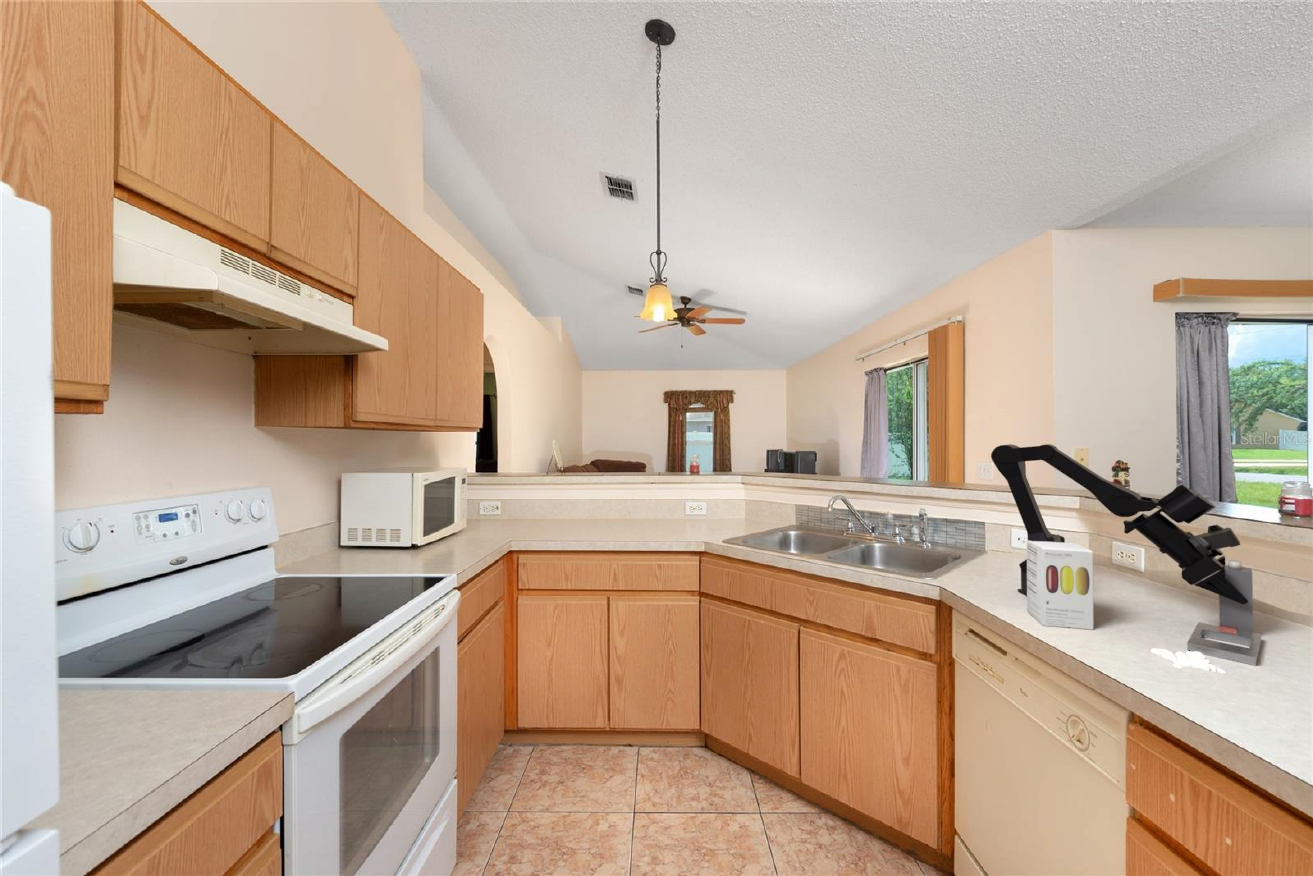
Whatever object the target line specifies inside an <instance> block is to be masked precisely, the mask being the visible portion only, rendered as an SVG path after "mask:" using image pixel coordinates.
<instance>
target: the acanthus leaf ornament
mask: <svg viewBox="0 0 1313 876" xmlns="http://www.w3.org/2000/svg"><path fill="white" fill-rule="evenodd" d="M1151 652H1152V653H1151ZM1150 653H1151V654H1154V653H1155V655H1157V656H1159V655H1161V656H1160V657H1161V658H1163V659H1165V660H1168V659H1169V660H1168V661H1170V660H1171V662H1172V661H1173V662H1174V663H1173V662H1172V663H1173V664H1172V665H1173V666H1174V668H1176V667H1177V668H1176V669H1180V668H1191V667H1192V669H1197V668H1201V669H1204V670H1203V671H1205V670H1207V671H1206V672H1213V671H1214V673H1219V672H1220V674H1223V673H1227V672H1226V671H1225V670H1223V669H1222V668H1220V667H1218V666H1216V665H1214V664H1212V663H1211V661H1210V660H1209V659H1207V655H1205V654H1202V653H1201V652H1198V651H1193V652H1192V651H1185V652H1182V651H1177V652H1175V653H1173V652H1172V651H1170V650H1168V649H1165V648H1151V649H1150ZM1173 666H1172V667H1173ZM1201 669H1200V670H1201Z"/></svg>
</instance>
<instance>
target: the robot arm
mask: <svg viewBox="0 0 1313 876" xmlns="http://www.w3.org/2000/svg"><path fill="white" fill-rule="evenodd" d="M990 458H991V460H992V462H993V464H994V465H995V467H996V469H997V470H998V472H1000V474H1001V476H1003V478H1004V479H1005V480H1006V482H1007V484H1008V487H1009V490H1010V492H1011V494H1012V497H1013V500H1014V503H1015V505H1016V507H1017V509H1018V512H1019V515H1020V517H1021V520H1022V523H1023V525H1024V529H1025V530H1026V533H1027V541H1043V542H1061V539H1060V536H1061V535H1060V534H1056V535H1055V536H1053V535H1052V534H1053V533H1051V532H1050V530H1049V529H1048V528H1047V526H1046V525H1047V524H1046V522H1045V519H1044V518H1043V516H1042V513H1041V510H1040V508H1039V506H1038V503H1037V501H1036V500H1037V499H1036V497H1035V496H1034V494H1033V490H1032V489H1031V486H1030V483H1029V480H1028V477H1027V474H1026V473H1027V470H1026V469H1027V468H1026V467H1027V466H1026V462H1033V461H1044V462H1045V463H1047V464H1048V465H1049V466H1051V467H1053V468H1054V469H1055V470H1057V471H1059V472H1060V473H1061V474H1063V475H1065V476H1066V477H1068V478H1069V479H1071V480H1073V481H1074V482H1075V483H1077V484H1078V485H1080V486H1081V487H1083V488H1084V489H1086V490H1088V491H1089V492H1090V493H1091V494H1092V495H1093V496H1094V497H1095V498H1096V499H1097V501H1098V502H1099V503H1101V505H1102V506H1104V507H1105V508H1106V509H1107V510H1108V511H1109V512H1110V513H1111V514H1113V515H1115V516H1116V517H1120V518H1129V517H1134V516H1136V515H1138V513H1141V514H1139V515H1138V516H1136V517H1135V518H1134V519H1132V520H1126V519H1125V520H1124V521H1123V522H1122V523H1123V526H1124V532H1123V533H1124V534H1126V535H1127V534H1130V533H1131V532H1132V531H1134V530H1136V531H1137V532H1139V534H1140V535H1142V536H1144V537H1145V538H1146V540H1148V541H1150V542H1151V543H1152V544H1153V545H1155V546H1156V547H1157V548H1158V550H1159V552H1160V553H1162V554H1163V555H1164V554H1166V555H1167V556H1168V557H1169V558H1171V559H1172V560H1173V561H1174V562H1176V563H1177V564H1178V565H1177V567H1179V568H1180V569H1181V579H1182V580H1183V581H1185V582H1186V583H1188V584H1189V585H1190V586H1195V587H1198V588H1201V589H1203V590H1207V591H1209V592H1210V593H1211V592H1212V593H1214V594H1217V595H1218V596H1219V595H1221V596H1223V597H1226V598H1228V599H1231V600H1233V601H1236V602H1238V603H1241V604H1246V603H1248V600H1247V599H1246V598H1245V597H1244V595H1243V594H1242V593H1241V592H1240V591H1239V590H1238V589H1237V588H1236V587H1235V586H1234V585H1233V584H1232V583H1231V582H1230V581H1229V580H1228V579H1227V578H1226V576H1225V566H1223V565H1226V556H1225V555H1223V554H1224V552H1223V551H1221V549H1223V548H1234V547H1239V546H1240V545H1241V541H1240V540H1239V538H1238V536H1237V535H1236V534H1235V532H1234V531H1233V529H1232V528H1231V527H1225V528H1223V527H1222V526H1221V525H1218V524H1213V525H1209V526H1207V532H1203V533H1201V534H1198V535H1197V534H1196V535H1194V534H1193V533H1192V532H1191V531H1187V530H1186V531H1185V530H1183V529H1182V528H1180V527H1179V526H1178V525H1177V524H1180V523H1181V524H1182V523H1186V524H1191V523H1193V522H1194V521H1196V520H1197V519H1199V518H1201V517H1202V516H1204V515H1206V514H1207V513H1209V512H1210V511H1212V510H1214V509H1215V508H1216V505H1214V504H1213V503H1212V502H1211V501H1209V500H1208V499H1207V498H1206V497H1204V496H1203V495H1202V494H1201V493H1197V492H1196V491H1195V490H1193V489H1191V488H1189V487H1188V486H1186V485H1184V484H1182V483H1181V484H1179V485H1178V486H1176V487H1175V488H1174V489H1172V491H1171V492H1168V494H1165V496H1163V497H1161V498H1160V499H1159V498H1155V497H1150V496H1149V497H1148V496H1142V495H1140V494H1139V492H1138V493H1137V492H1136V491H1134V490H1131V489H1129V488H1127V487H1125V486H1123V485H1120V484H1117V483H1115V482H1112V481H1110V480H1108V479H1106V478H1104V477H1102V476H1100V475H1098V474H1097V473H1095V471H1092V470H1091V469H1090V468H1088V467H1086V466H1085V465H1083V464H1081V463H1080V462H1079V461H1077V460H1075V459H1073V458H1072V457H1071V456H1069V455H1068V454H1066V453H1064V452H1063V451H1061V450H1060V449H1058V448H1057V447H1056V446H1055V445H1053V444H1049V443H1047V444H1042V445H1035V446H1033V445H1032V446H1024V447H1023V446H1022V447H1020V446H1018V445H1016V444H1012V443H1011V444H1001V445H998V446H996V447H995V448H994V449H993V450H992V452H991V455H990ZM1158 507H1160V508H1158ZM1156 508H1158V509H1157V510H1156V511H1155V512H1152V511H1153V510H1155V509H1156ZM1143 512H1152V513H1151V514H1149V515H1148V514H1146V513H1143ZM1162 512H1163V513H1162ZM1165 515H1166V516H1165ZM1167 517H1169V518H1170V519H1169V518H1167ZM1171 520H1172V521H1174V522H1175V523H1177V524H1175V523H1174V522H1172V521H1171ZM1059 535H1060V536H1059ZM1217 556H1219V557H1218V558H1216V557H1217ZM1019 568H1020V588H1017V592H1020V594H1023V595H1025V596H1026V597H1027V558H1026V559H1024V560H1023V561H1022V562H1020V563H1019Z"/></svg>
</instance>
